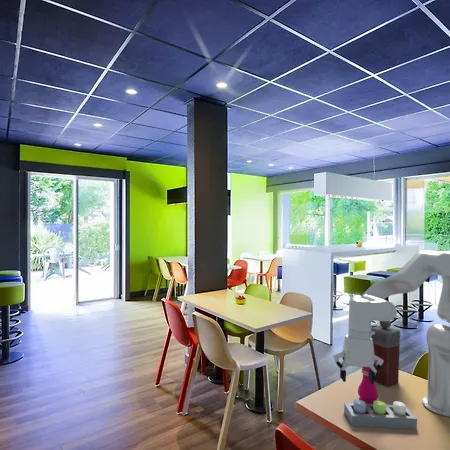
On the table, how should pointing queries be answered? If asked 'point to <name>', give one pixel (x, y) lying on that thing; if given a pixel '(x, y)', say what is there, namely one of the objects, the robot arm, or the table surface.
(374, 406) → the lime button
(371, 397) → the pepper mill
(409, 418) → the panel
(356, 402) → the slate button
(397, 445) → the table surface
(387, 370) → the brown salt grinder
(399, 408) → the white rounded piece
